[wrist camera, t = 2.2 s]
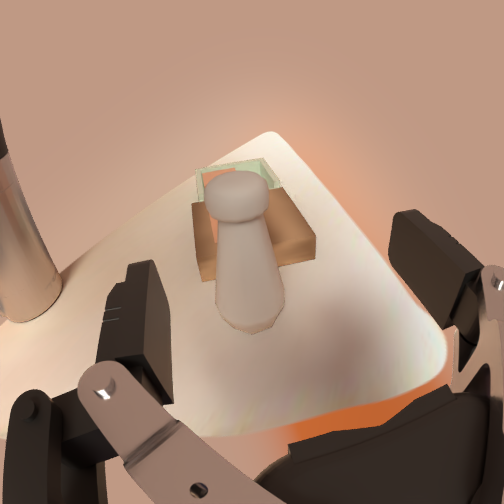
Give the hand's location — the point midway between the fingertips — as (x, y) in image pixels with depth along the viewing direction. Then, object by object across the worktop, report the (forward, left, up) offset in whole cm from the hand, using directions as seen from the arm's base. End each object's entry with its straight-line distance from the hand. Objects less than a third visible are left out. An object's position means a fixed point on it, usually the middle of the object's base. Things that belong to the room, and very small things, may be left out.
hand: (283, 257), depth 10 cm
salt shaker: (0, +11, -15) cm, 19 cm away
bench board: (+2, +23, -15) cm, 28 cm away
